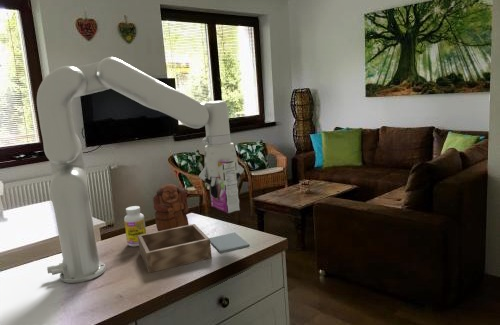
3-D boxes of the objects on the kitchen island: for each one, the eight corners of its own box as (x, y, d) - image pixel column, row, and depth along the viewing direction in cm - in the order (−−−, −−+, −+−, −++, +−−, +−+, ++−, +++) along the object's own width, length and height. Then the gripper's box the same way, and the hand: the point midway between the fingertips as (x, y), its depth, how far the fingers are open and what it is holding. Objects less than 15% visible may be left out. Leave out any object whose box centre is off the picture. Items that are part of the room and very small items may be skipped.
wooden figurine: (163, 238, 147) (157, 189, 144) (156, 233, 152) (150, 186, 149) (192, 229, 154) (187, 182, 150) (185, 225, 159) (180, 180, 156)
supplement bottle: (126, 248, 140) (121, 211, 138) (128, 241, 147) (123, 206, 144) (147, 245, 142) (142, 209, 139) (147, 238, 148) (143, 204, 146)
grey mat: (220, 252, 130) (220, 251, 130) (207, 240, 142) (207, 238, 142) (249, 245, 134) (249, 244, 134) (235, 234, 146) (234, 232, 146)
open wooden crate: (149, 272, 120) (146, 253, 119) (140, 252, 135) (137, 235, 134) (211, 257, 127) (209, 239, 126) (196, 240, 142) (194, 223, 141)
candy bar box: (210, 207, 139) (205, 159, 136) (223, 203, 142) (218, 156, 139) (227, 214, 130) (222, 162, 127) (240, 210, 132) (236, 160, 130)
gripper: (195, 145, 125) (201, 202, 128) (248, 137, 131) (252, 193, 135) (189, 142, 132) (195, 197, 135) (239, 136, 138) (243, 188, 142)
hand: (223, 194), depth 135 cm, fingers closed on candy bar box, 5 cm apart
